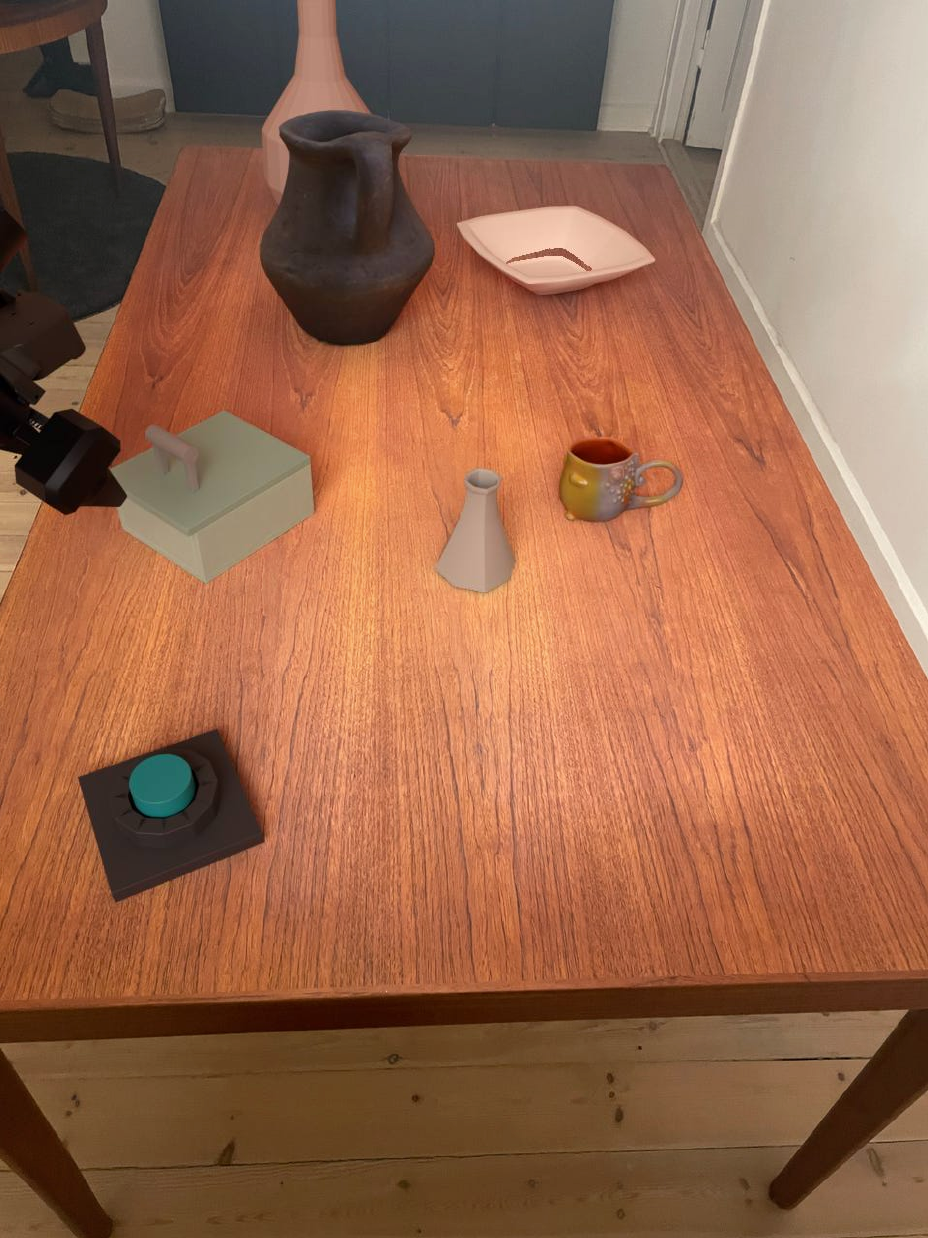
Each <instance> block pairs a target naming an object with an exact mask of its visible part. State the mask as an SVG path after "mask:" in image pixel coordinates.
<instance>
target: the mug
mask: <svg viewBox="0 0 928 1238" xmlns="http://www.w3.org/2000/svg"><path fill="white" fill-rule="evenodd" d="M566 451H567V452H566V454H565V456H564V457H563V467H562V470H561V473H560V477H559V481H558V496H559V500H560V502H561V504H562V506H563V508H564V510H565V511H566V512H565V519H566V520H568V521H577V520H581V521H584V522H593V523H603V522H608V521H611V520H614V519H617V517H619V516H620V515H621V514H622V513H624V512H626V511H632V510H639V509H646V508H647V509H648V508H652V507H653V508H654V507H657V506H660V505H662V504H664V503H667V502H669V501H670V500H672V499H673V498H675V497H676V496H677V495H678V494H679V493H680V492H681V490H682V488H683V484H684V475H683V473H682V471H681V469H680V468H679V466H677V465H676V464H675V463H673V462H672V461H670V460H668V459H665V458H655V459H651V460H648V461H646V462H644V463H642V464H640V465H639V463H640V455H639V453H638V452H637V451H636V450H635V451H634V450H633V449H632V448H630V447H629V446H628V445H627V444H626V443H624V442H623V441H621V440H619V439H616V438H614V437H611V436H592V437H584V438H579V439H577V440H575V441H574V442H573V443H571V444H570V445H569V446H568V448H567V450H566ZM653 468H665V469H667V470H669V471H670V472H671V473H672V474H673V477H674V480H673V481H674V482H673V484H672V486H671V487H670V488H669V489H667V490H666V491H665V492H664V493H661V494H657V495H650V496H643V495H638V494H637V493H636V492H635V489H636V488H641V487H643V486H645V484H646V478H645V475H643V473H644V472H646V471H647V470H650V469H653Z"/></svg>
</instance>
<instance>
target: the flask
mask: <svg viewBox="0 0 928 1238" xmlns="http://www.w3.org/2000/svg"><path fill="white" fill-rule="evenodd" d="M502 480H503V476H501V475H500V474H499V473H497V472H496V471H494V470H493V469H490V468H485V467H475V468H473V469H470V470H469V471H466V473H465V475H464V478H463V481H462V483H463V486H464V487H465V499H464V503H463V506H462V510H461V512H460V515H459V517H458V519H457V521H456V523H455V525H454V527H453V530H452V532H451V533H450V535H449V537H448V539H447V540H446V542H445V544H444V546H443V548H442V549H441V553H440V555H439V557H438V560H437V562H436V564H435V567H434V571H436V572H437V573H438V574H439V575H440V576H442V577H443V578H444V579H445V580H446V581H447V582H449V583H450V584H451V585H452V586H453V587H456V588H460V589H464V590H470V591H475V592H479V593H484V594H486V593H489V592H490V591H491V590H493V589H495V588H497V587H499V586H502V585H503V584H505V583H507V582H509V581H510V579H511V576H512V572H513V570H514V567H515V565H516V558H515V554H514V552H513V549H512V547H511V544H510V542H509V539H508V536H507V533H506V531H505V527H504V525H503V521H502V518H501V515H500V511H499V503H498V491H499V489H500V486H501V483H502V482H503V481H502Z"/></svg>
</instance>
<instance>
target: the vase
mask: <svg viewBox="0 0 928 1238" xmlns="http://www.w3.org/2000/svg"><path fill="white" fill-rule="evenodd" d="M296 3H297V4H296V5H297V21H298V23H297V24H298V39H297V48H296V55H295V65H294V73H293V75H292V77H291V79H290V80H289V82H288V84H287V85H286V87H285V89H284V90H283V92H282V93H281V95H280V96H279V98H278V100H277V102H276V103H275V105H274V106H273V108H272V110H271V112H269V115H268V116H267V118H266V119H265V121H264V123H263V125H262V128H261V142H262V145H261V146H262V163H263V164H262V166H263V179H264V181H265V183H266V186H267V188H268V190H269V192H270V195H271V196H272V198H273V200H274V202H275V204H276V205H277V207H278V206H279V204H280V201H281V199H282V195H283V191H284V188H285V184H286V179H287V175H288V167H289V151H288V149H287V147H286V145H285V144H284V142H283V141H282V139H281V138H280V136H279V126H280V125H281V124H282V123H284V122H285V121H287V120H289V119H291V118H294V117H296V116H300V115H305V114H308V113H313V112H319V111H328V110H348V111H354V112H361V113H367V114H372V112H371V111H370V110H369V108H368V107H367V105H366V103H365V102H364V101H363V99H362V98H361V96H360V95H359V93H358V92H357V90H356V89H355V88H354V86H353V85H352V83H351V82H350V80H349V79H348V77H347V75H346V72H345V66H344V62H343V57H342V52H341V48H340V42H339V38H338V33H337V6H336V5H337V4H336V0H296Z"/></svg>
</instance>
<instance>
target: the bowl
mask: <svg viewBox="0 0 928 1238" xmlns="http://www.w3.org/2000/svg"><path fill="white" fill-rule="evenodd" d="M456 227H457V229H458V231H459V232H460V235H461V236H462V238H463V240H465V241H466V242H467V244H469V246H471V247H472V249H473V250H474V251H475V252H476V253H477V254H478V255H479V256H480V257H482V259H484V260H485V261H486V262H488V263H489V264H490V265H491V266H493V267H494V269H496V270H497V271H499V272H500V273H502V274H503V275H505V276H506V277H507V278H509V279H510V280H512V281H513V282H514V283H515V284H518V285H520V286H522V287H524V288H525V289H526V290H529V291H530V292H531V293H534V294H535V295H537V296H546V295H547V296H548V295H557V294H563V293H569V292H574V291H579V290H584V289H587V288H589V287H592V286H594V285H596V284H599V283H604V282H609V281H612V280H614V279H617V278H620V277H623V276H625V275H627V274H630V273H633V272H635V271H636V270H639V269H641V268H644V267H646V266H648V265H651V264H654V263H655V262H656V258H655V257H654V256H653V255H652V254H651V252H650V251H649V250H648V249H647V247H646V246H645V245H643V244H642V243H640V241H639V240H637V239H636V238H635V237H633V236H632V235H631V234H629V233H628V232H627V231H626V230H625V229H623V228H621V227H619V226H618V225H617V224H615V223H612V222H611V221H609V220H608V219H606V218H604V217H602V216H601V215H598V214H596V213H595V212H592V211H589V210H587V209H585V208H582V207H580V206H577V205H561V206H560V205H559V206H558V205H555V206H544V207H536V208H535V207H534V208H527V209H520V210H513V211H505V212H499V213H494V214H486V215H480V216H476V217H472V218H469V219H465V220H462V221H459V222H457V223H456ZM549 248H550V249H554V248H563V249H566V250H567V251H569V252H570V253H572V254H574V255H575V256H576V257H578V259H580V260H581V261H583V262H584V264H586V265H587V266H590V267H591V268H592V270H591V271H586V270H585V269H584V268H582V267H581V266H579V265H578V264H576V263H575V262H573V261H571V260H569V259H567V258H565V257H563V256H544V257H538V258H532V259H526V260H520V261H514V262H511V263H508V264H506V262H507V261H509V260H511V259H512V258H514V257H519V256H522V255H526V254H530V253H534V252H539V251H542V250H545V249H549ZM595 283H596V284H595ZM593 284H594V285H593ZM590 285H591V286H590ZM587 286H588V287H587ZM581 287H585V288H581ZM577 288H579V289H577ZM572 289H574V290H572ZM567 290H568V291H567ZM561 291H563V292H561ZM556 292H557V293H556Z"/></svg>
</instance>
